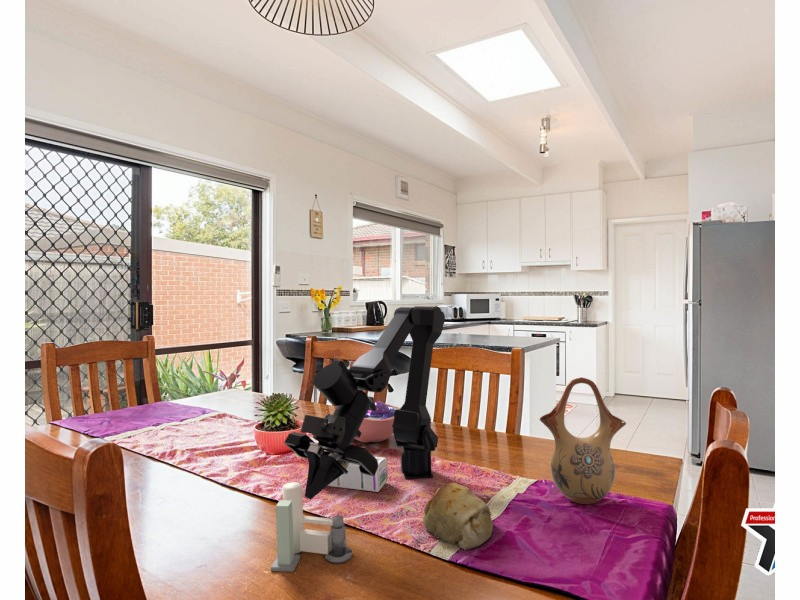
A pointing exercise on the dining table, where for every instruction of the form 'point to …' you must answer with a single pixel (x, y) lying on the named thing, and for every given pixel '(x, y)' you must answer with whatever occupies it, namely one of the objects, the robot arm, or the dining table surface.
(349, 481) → the syrup box
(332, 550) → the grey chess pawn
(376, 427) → the cell model
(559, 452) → the ceramic vessel
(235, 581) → the dining table surface
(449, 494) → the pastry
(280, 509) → the post
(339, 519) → the gate
